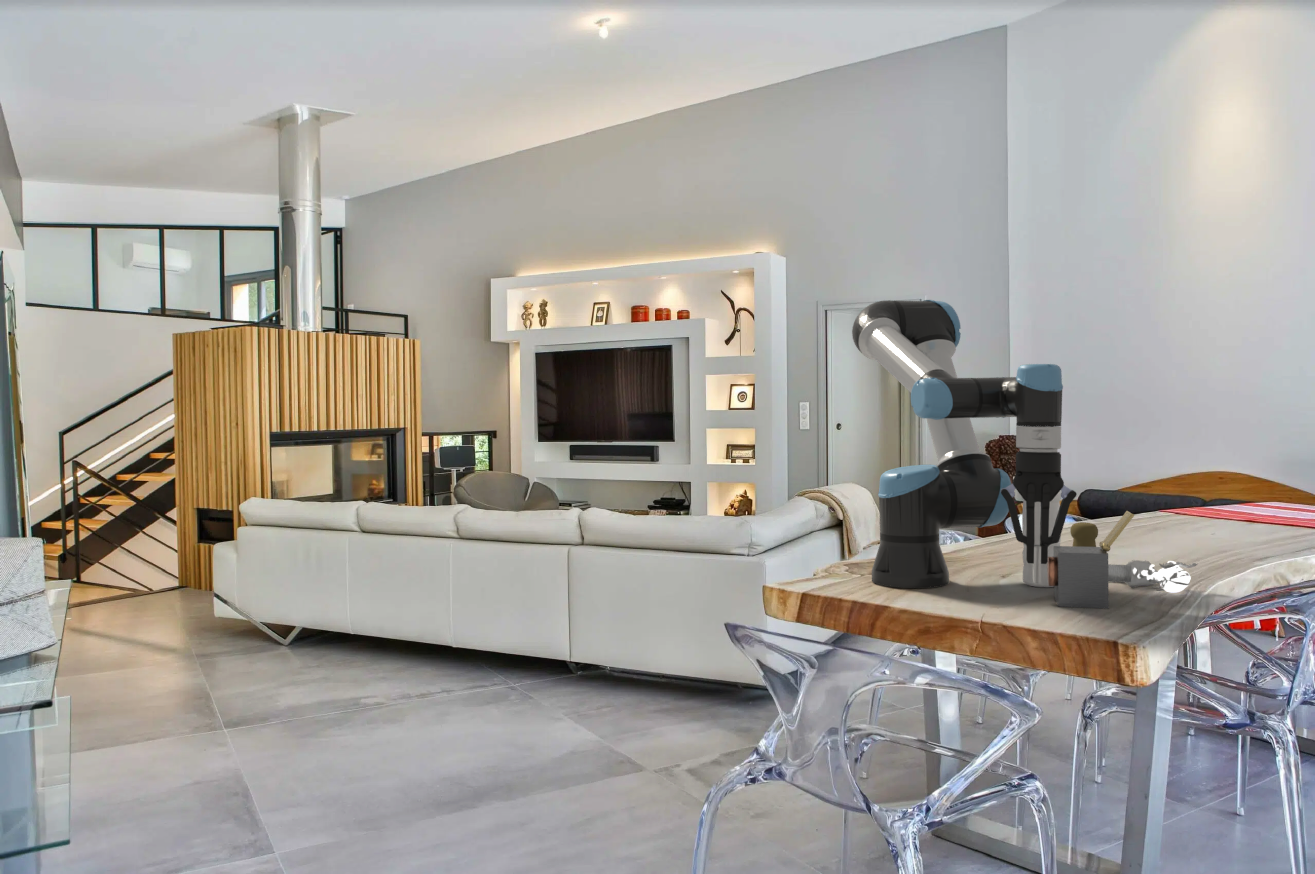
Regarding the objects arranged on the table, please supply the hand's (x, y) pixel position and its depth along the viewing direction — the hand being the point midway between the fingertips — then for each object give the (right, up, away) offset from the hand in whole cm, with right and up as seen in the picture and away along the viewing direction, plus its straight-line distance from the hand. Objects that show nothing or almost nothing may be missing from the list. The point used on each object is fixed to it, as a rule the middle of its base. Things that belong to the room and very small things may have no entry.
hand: (1036, 581), depth 172 cm
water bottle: (+7, -3, +16) cm, 18 cm away
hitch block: (+7, -4, -2) cm, 8 cm away
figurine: (+27, -3, +9) cm, 28 cm away
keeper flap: (+13, +9, -4) cm, 16 cm away
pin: (+8, -1, -2) cm, 9 cm away
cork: (+19, -3, +24) cm, 31 cm away
